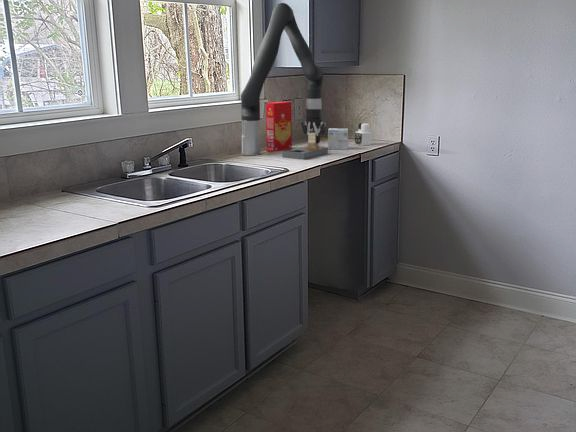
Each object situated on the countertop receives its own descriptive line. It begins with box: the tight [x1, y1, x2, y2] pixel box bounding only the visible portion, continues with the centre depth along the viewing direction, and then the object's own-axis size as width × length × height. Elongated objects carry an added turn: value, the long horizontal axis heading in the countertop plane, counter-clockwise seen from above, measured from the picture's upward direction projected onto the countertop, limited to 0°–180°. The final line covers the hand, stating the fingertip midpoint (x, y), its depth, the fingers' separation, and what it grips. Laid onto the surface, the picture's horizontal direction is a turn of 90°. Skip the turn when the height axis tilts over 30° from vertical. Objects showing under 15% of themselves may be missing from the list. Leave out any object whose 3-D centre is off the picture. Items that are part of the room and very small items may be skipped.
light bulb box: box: [327, 127, 349, 150], centre depth 314 cm, size 11×7×11 cm, turn 84°
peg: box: [307, 131, 320, 148], centre depth 292 cm, size 4×4×9 cm
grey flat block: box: [282, 145, 329, 161], centre depth 287 cm, size 22×12×4 cm, turn 145°
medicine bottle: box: [354, 122, 373, 146], centre depth 329 cm, size 7×7×12 cm
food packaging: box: [265, 101, 293, 153], centre depth 307 cm, size 15×5×25 cm, turn 143°
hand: (313, 142), depth 292 cm, fingers closed on peg, 4 cm apart
